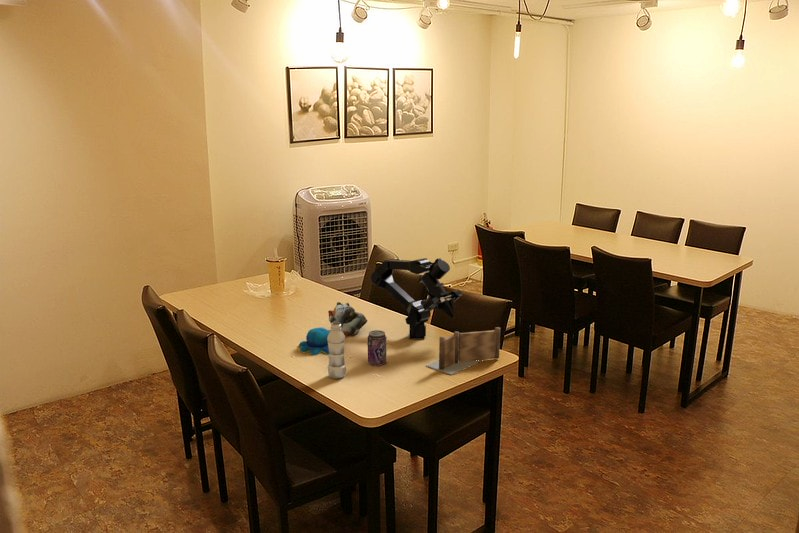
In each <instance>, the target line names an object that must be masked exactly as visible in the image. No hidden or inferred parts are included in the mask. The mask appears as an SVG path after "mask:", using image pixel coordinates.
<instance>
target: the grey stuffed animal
mask: <svg viewBox="0 0 799 533" xmlns="http://www.w3.org/2000/svg"><path fill="white" fill-rule="evenodd" d="M327 313H328V321H329V322H330V324H331V323H333V322H339V323H341V327H342V329H341V331H342V332H343V334H344V335H345V337H353V336H354V335H356V334H357V333H359V331H360V330H361V329H362V328H363V327H364V326H365V325H366V324H367V322H368V319H367V318H366V316H365V315H364V314H363V313H361V312H357V311H356V310H355V308H354V307H352V305H350V303H349V302H345V304H343V303H342V302H340V301H339V302H336V305H335V307H334V308H333V310H328V312H327Z"/></svg>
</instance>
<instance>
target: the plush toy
mask: <svg viewBox="0 0 799 533" xmlns="http://www.w3.org/2000/svg"><path fill="white" fill-rule="evenodd" d="M330 332H331V330H328V329H327V328H325V327H321V326H320V327H315V328H312V329H309V330H308V331H307V333H306V337H305V339H306V341H305V340H303V341H301V342H300V343H299V344H298V347H299V346H300V347H299V348H300V350H299V351H300V353H301V352H306V353H309V352H310V355H311V356H317V355H320V354H321V353H323V354H325V355H326V354H327V355H329V347H328V341H327V338H328V335H329V333H330Z"/></svg>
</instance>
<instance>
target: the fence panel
mask: <svg viewBox="0 0 799 533" xmlns="http://www.w3.org/2000/svg"><path fill="white" fill-rule="evenodd" d="M500 347H501V327H499V326H497V327H494V329H492V330H481V331H480V330H479V331H469V332H467V331H466V332H459V359H458V361H459V362H463V361H474V360H484V361H486V360H491V359H492V360H493V359H496V360H497V359H500ZM485 359H486V360H485Z"/></svg>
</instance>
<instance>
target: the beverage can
mask: <svg viewBox="0 0 799 533" xmlns="http://www.w3.org/2000/svg"><path fill="white" fill-rule="evenodd" d="M367 363H368V364H370V365H372V366H378V367H379V366H382V365H383V364H386V363H387V336H386V332H385V331H384V330H379V329H378V330H377V329H376V330H371V331H369V332H368V336H367Z"/></svg>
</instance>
